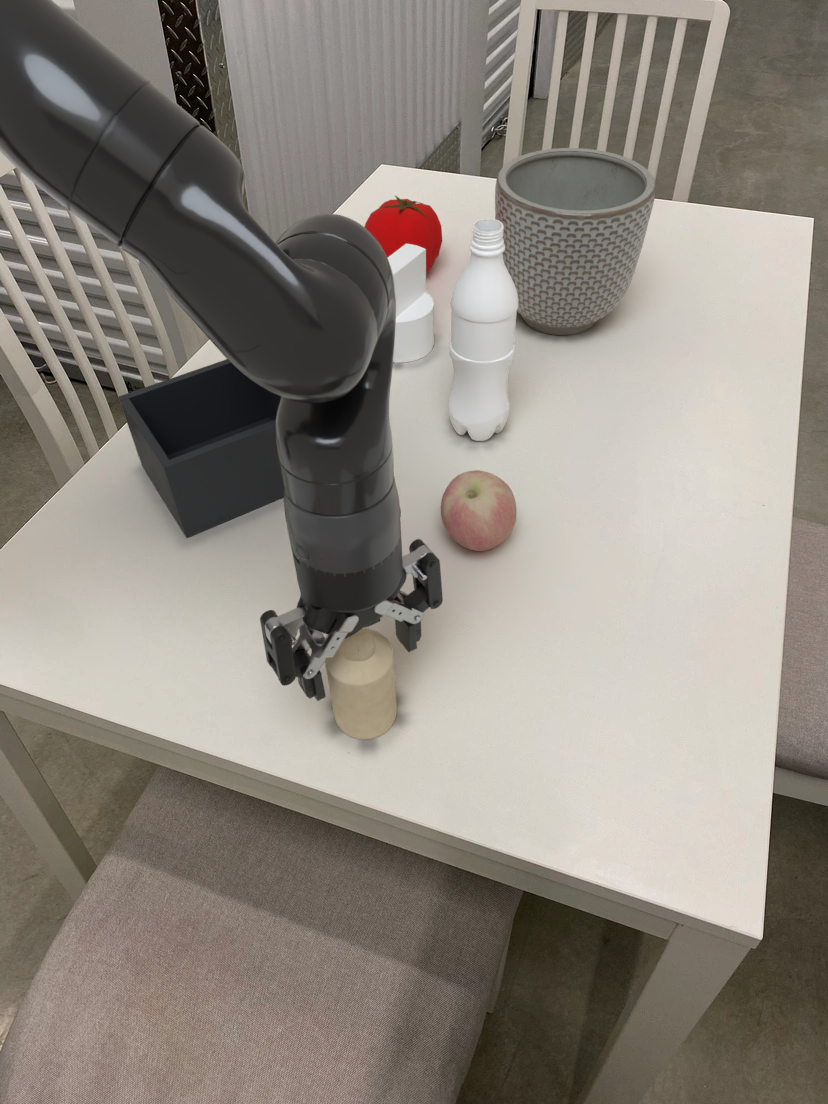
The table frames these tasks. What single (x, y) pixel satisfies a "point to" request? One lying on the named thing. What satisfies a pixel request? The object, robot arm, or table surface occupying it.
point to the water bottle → (482, 336)
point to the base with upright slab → (412, 305)
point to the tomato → (406, 227)
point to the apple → (478, 510)
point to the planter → (572, 233)
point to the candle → (363, 685)
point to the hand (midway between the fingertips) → (362, 667)
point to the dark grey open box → (207, 444)
